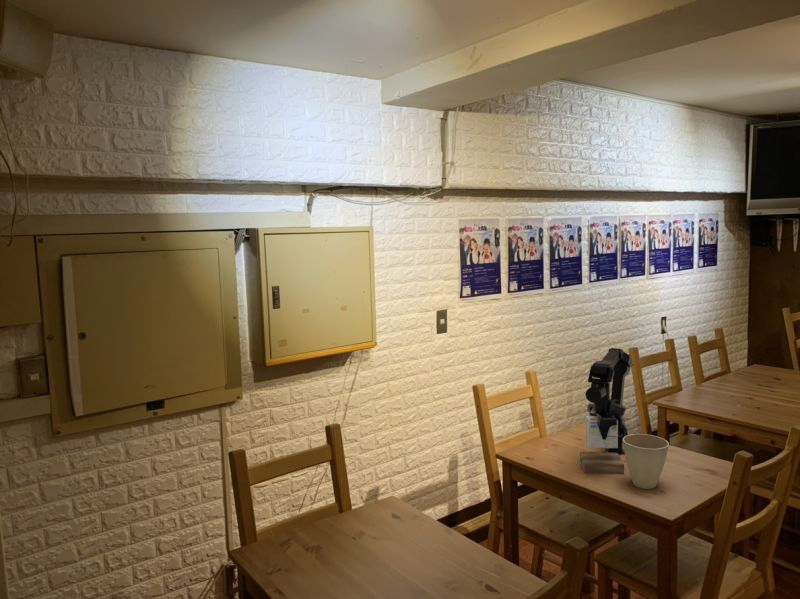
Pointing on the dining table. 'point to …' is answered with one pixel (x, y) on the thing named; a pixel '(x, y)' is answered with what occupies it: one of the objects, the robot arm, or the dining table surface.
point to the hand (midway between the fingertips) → (601, 436)
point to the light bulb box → (595, 437)
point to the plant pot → (645, 458)
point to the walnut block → (601, 463)
